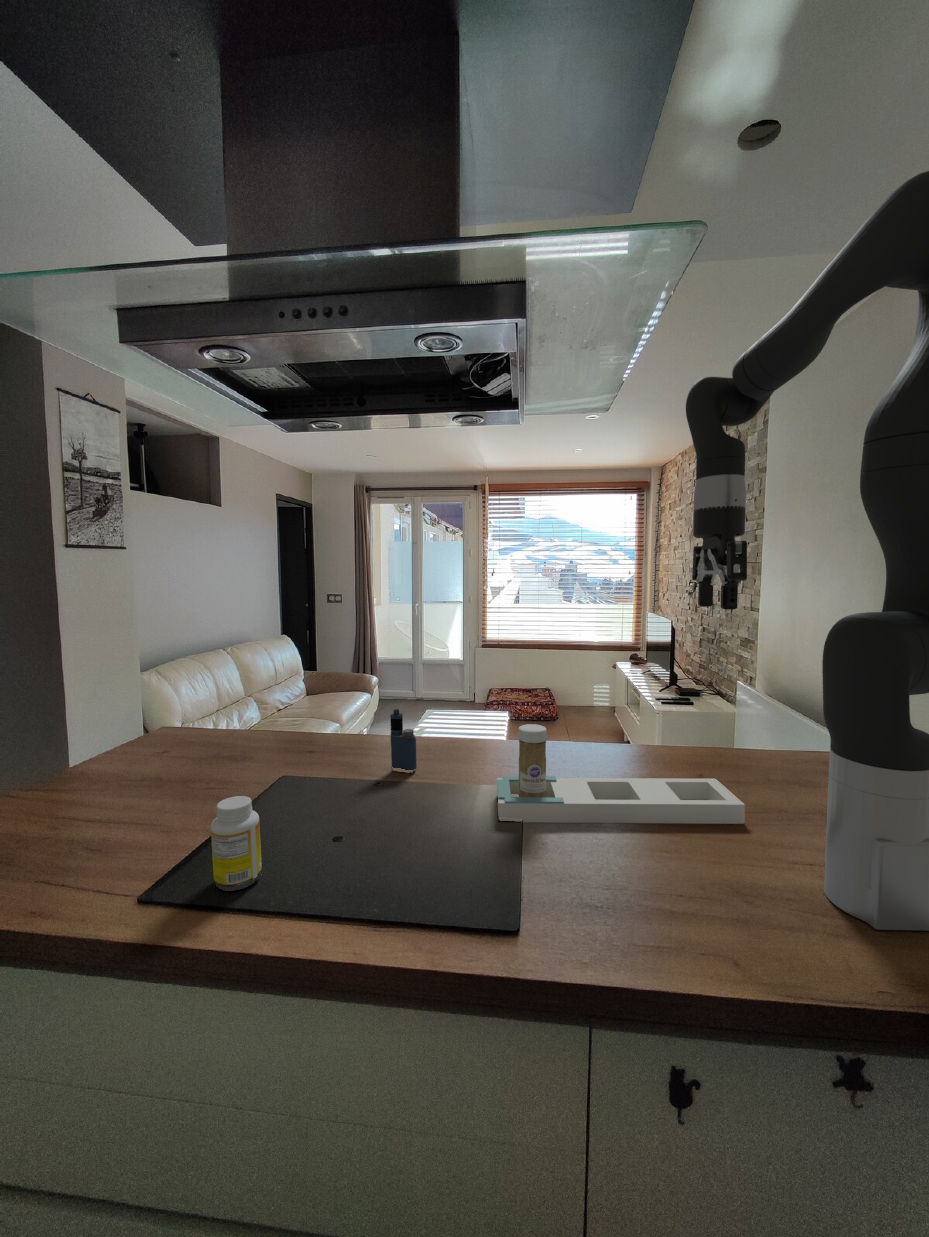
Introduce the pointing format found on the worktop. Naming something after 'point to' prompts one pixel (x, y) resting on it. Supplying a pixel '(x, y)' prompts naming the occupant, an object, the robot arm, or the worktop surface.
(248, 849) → the supplement bottle
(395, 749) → the vaping device
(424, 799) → the worktop surface
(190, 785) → the worktop surface
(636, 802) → the rail
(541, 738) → the sprinkles bottle
